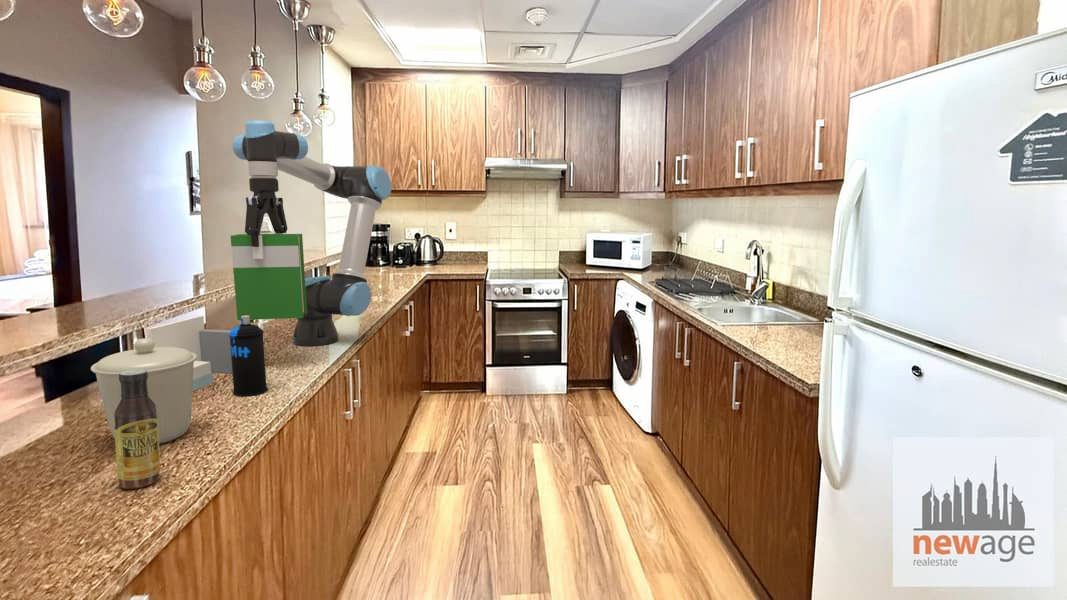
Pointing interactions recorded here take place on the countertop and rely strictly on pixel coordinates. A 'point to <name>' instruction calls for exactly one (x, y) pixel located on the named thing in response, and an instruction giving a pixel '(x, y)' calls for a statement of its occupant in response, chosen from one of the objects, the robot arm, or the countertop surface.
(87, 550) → the countertop surface
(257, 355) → the aerosol can
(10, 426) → the countertop surface
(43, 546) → the countertop surface
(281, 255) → the hardback book
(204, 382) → the book stack block
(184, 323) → the shelf back board
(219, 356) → the bookend
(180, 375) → the canister
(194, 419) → the countertop surface
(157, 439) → the sauce bottle
